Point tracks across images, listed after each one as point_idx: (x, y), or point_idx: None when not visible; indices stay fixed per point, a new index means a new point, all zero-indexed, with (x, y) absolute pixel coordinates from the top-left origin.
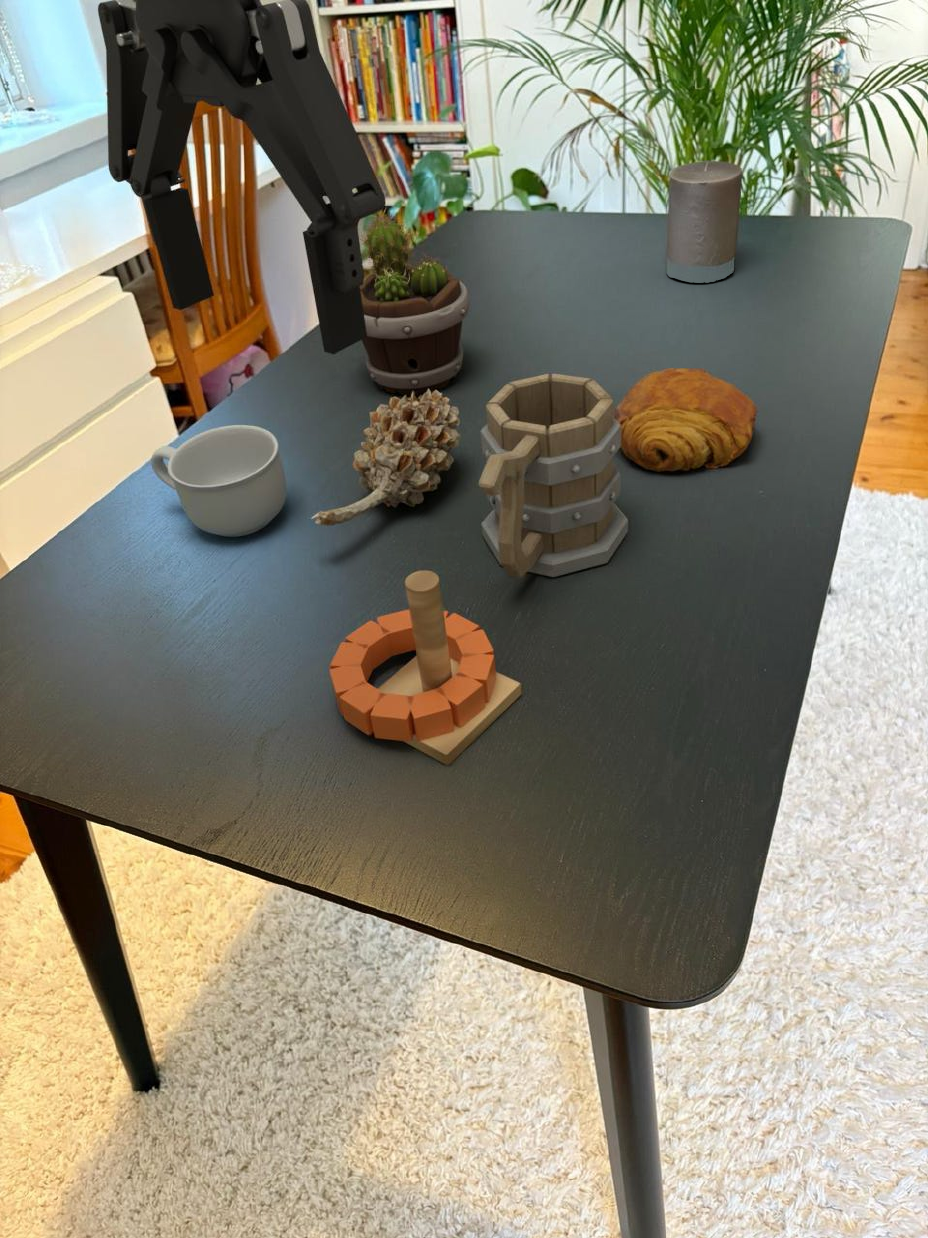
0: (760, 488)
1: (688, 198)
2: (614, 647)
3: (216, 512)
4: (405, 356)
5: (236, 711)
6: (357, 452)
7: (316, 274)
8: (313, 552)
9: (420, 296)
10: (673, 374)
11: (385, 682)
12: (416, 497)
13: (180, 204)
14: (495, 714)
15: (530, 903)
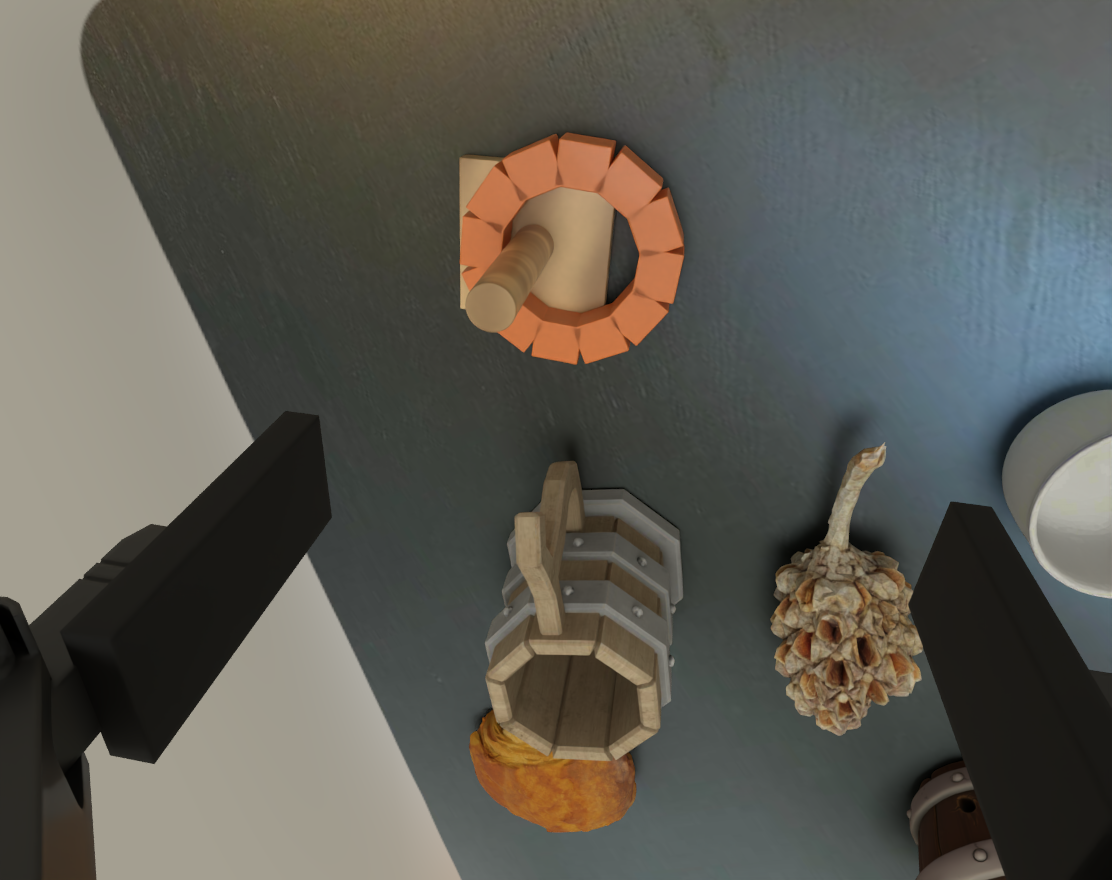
0: (442, 684)
1: None
2: (424, 414)
3: (1092, 411)
4: (979, 814)
5: (797, 81)
6: None
7: (173, 540)
8: (901, 423)
9: None
10: (569, 817)
11: (610, 230)
12: (795, 559)
13: (1028, 853)
14: None
15: (260, 23)
